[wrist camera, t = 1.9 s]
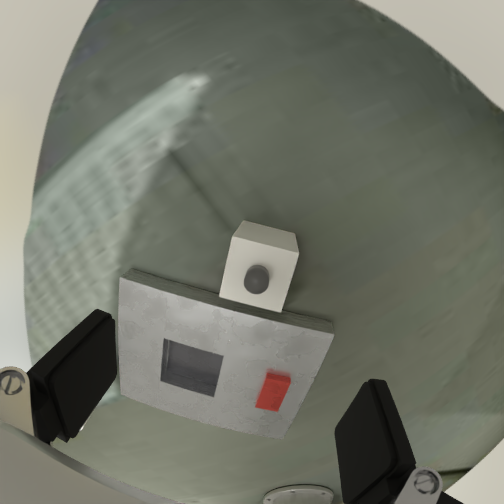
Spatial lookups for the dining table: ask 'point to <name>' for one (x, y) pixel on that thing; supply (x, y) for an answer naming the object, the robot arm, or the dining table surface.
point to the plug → (259, 266)
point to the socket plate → (216, 355)
